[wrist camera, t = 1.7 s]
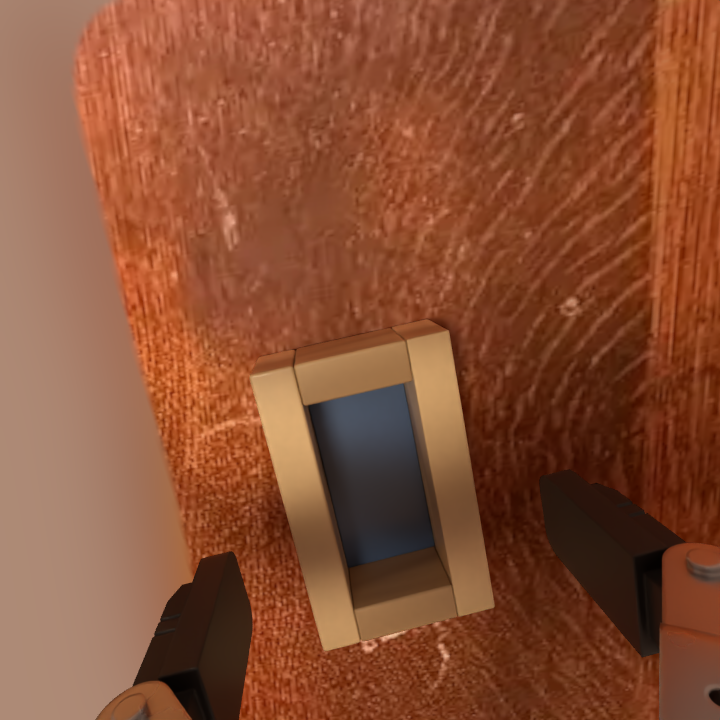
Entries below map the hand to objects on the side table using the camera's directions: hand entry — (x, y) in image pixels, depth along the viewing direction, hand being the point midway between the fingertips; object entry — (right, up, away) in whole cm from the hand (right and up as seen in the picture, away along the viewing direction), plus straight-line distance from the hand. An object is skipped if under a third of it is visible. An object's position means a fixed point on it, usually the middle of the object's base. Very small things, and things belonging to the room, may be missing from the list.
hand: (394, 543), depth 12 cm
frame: (-1, +1, +4) cm, 4 cm away
